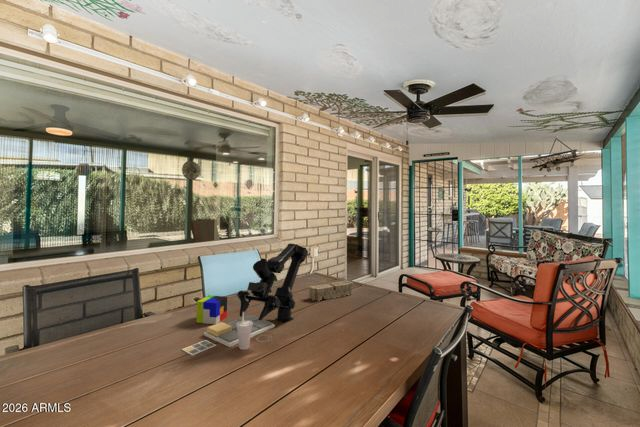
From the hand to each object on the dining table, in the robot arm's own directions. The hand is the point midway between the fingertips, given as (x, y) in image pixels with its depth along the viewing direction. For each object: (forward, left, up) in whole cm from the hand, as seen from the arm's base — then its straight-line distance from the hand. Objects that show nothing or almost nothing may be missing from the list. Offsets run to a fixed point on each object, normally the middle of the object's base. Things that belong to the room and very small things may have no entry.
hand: (249, 318), depth 118 cm
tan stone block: (-74, -9, -11) cm, 76 cm away
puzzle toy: (-6, -33, -11) cm, 35 cm away
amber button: (+2, -16, -9) cm, 19 cm away
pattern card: (+14, -12, -10) cm, 21 cm away
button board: (-6, -12, -10) cm, 17 cm away
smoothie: (+3, +1, -11) cm, 11 cm away
